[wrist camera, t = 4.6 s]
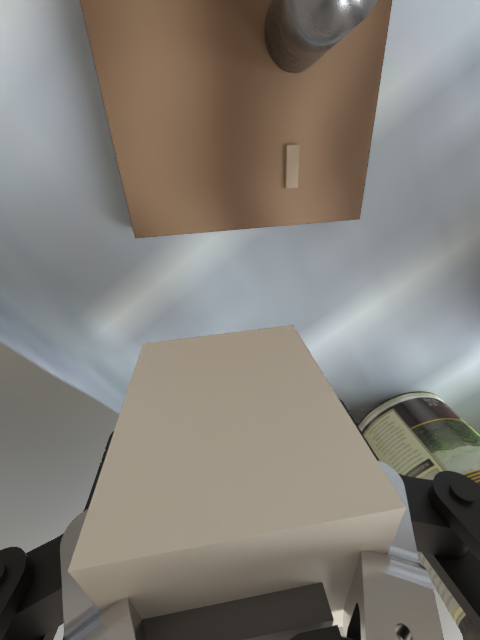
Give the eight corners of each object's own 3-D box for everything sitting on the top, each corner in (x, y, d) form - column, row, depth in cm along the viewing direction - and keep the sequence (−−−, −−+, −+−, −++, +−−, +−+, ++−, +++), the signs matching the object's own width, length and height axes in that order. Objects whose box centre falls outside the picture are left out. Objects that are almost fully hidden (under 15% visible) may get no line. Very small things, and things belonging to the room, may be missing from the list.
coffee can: (436, 373, 25) (672, 563, 13) (451, 432, 30) (632, 610, 18) (336, 425, 26) (464, 645, 14) (366, 474, 31) (480, 668, 19)
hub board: (384, -143, 11) (427, -212, 9) (342, 214, 17) (361, 219, 15) (53, -169, 9) (18, -258, 7) (141, 230, 15) (134, 239, 14)
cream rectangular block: (292, 325, 11) (430, 546, 5) (290, 426, 14) (371, 654, 7) (143, 343, 11) (50, 622, 4) (171, 445, 14) (145, 707, 7)
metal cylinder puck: (329, -16, 11) (398, -109, 7) (323, 72, 12) (379, 30, 8) (264, -17, 10) (301, -115, 7) (264, 73, 12) (297, 30, 8)
